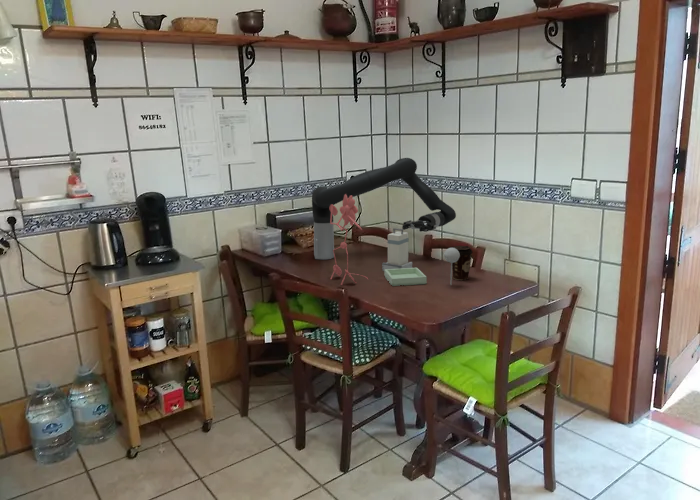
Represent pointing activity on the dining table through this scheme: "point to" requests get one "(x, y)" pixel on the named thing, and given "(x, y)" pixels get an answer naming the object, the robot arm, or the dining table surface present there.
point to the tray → (405, 276)
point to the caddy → (398, 247)
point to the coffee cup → (462, 263)
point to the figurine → (348, 216)
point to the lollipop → (451, 257)
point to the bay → (395, 266)
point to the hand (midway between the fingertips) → (411, 228)
